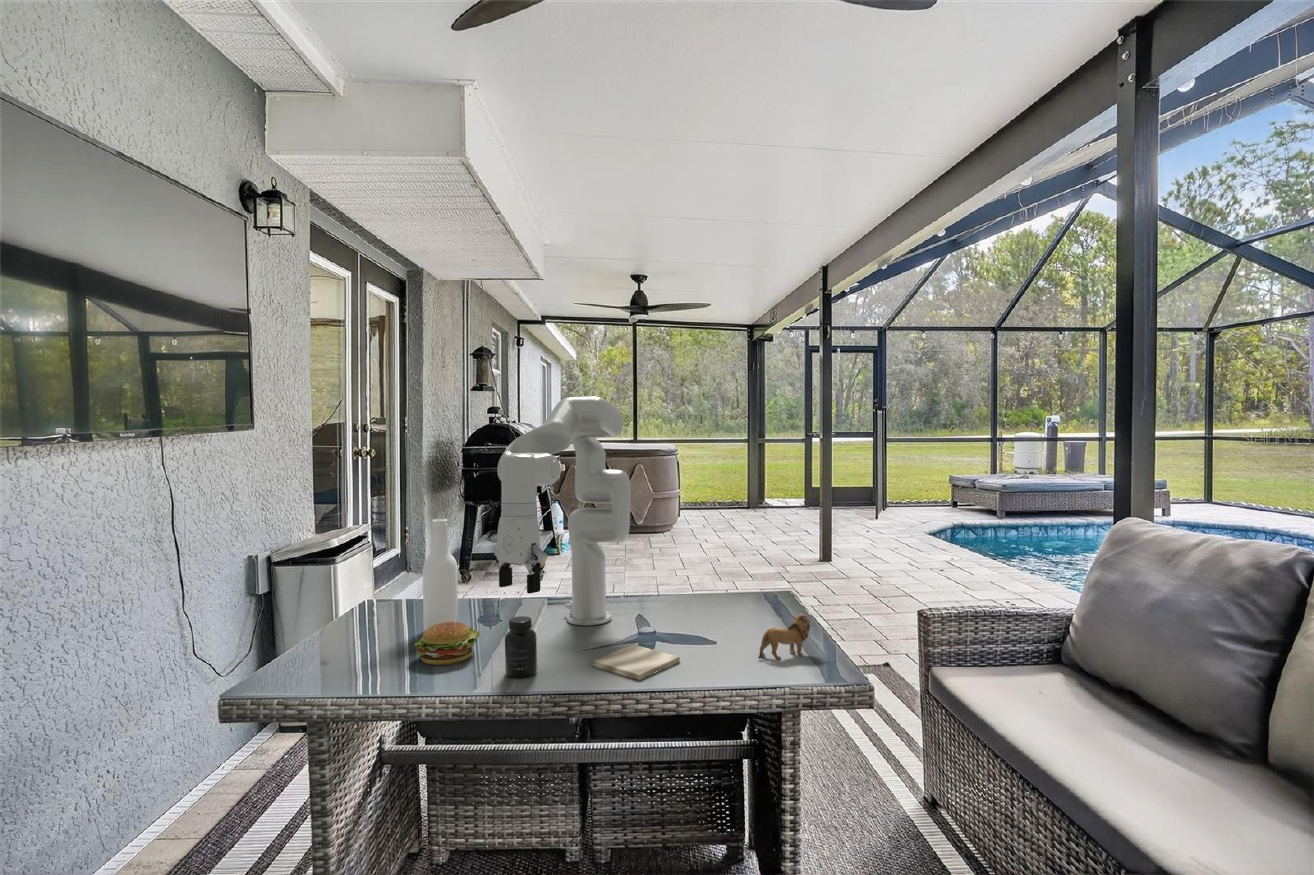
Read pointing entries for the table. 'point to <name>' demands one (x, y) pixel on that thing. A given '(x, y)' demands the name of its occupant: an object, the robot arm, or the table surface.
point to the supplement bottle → (520, 649)
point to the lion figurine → (787, 636)
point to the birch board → (635, 661)
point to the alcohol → (439, 580)
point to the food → (446, 643)
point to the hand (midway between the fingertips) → (519, 589)
